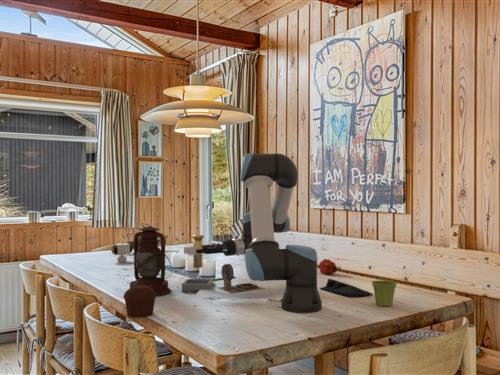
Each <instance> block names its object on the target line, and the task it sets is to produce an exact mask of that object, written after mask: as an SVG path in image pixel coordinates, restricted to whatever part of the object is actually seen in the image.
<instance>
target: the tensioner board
mask: <svg viewBox="0 0 500 375" xmlns="http://www.w3.org/2000/svg"><path fill="white" fill-rule="evenodd" d="M234 275H235V274H234V268H233V265H232V264H231V263H224V264H223V265H222V267H221V276H222V280H223V286H220V287H217V289H219V290H222V291H225V292H228V293H231V294H236V293H245V292H251V291H260V290H266V288H265V287H262V286H258V285H257V284H254V283H250V282H249V283H247V282H246V283H239V284H235V285H232V280H233V279H234Z"/></svg>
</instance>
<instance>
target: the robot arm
mask: <svg viewBox="0 0 500 375" xmlns="http://www.w3.org/2000/svg"><path fill="white" fill-rule="evenodd" d="M298 180H299V172H298V167H297V166H296V164H295V162H294V161H293V160H292V159H291V158H290V157H289V156H287V155H286V154H284V153H255V152H253V153H245V154H244V155H243V157H242V165H241V173H240V181H241V182H243V183H244V187H245V188H246V189H248V197H249V198H248V200H249V212H244V213H243V214H242V222H241V223H242V238H232V239H231V238H230V239H228V238H227V239H224V240H223V242H222V243H212V244H202V247H201V248H193V246H184V247H183V254H188V255H189V256H191V255H193V254H202V255H203V254H204V255H205V254H206V255H213V254H215V255H216V254H223V255H224V256H225V257H230V256H237V257H240V255H244V259H245V261H244V262H245V269H246V272H247V276H248V278H249V279H250V280H251V281H253V282H255V281H256V282H257V281H258V282H259V281H260V282H264V281H265V282H267V281H271V282H272V281H285V289H284V291H283V292H284V293H283V296H282V299H281V308H282V310H284V311H288V312H292V313H293V312H294V313H315V312H319V311H321V310H322V309H323V308H322V307H323V304H322V303H323V302H322V299H321V296H320V293H319V289H318V263H319V262H318V253H317V250H316V249H315V248H313V247H309V246H305V245H298V244H286V246H285V248H280V245H279V244H280V243H279V242H278V241H277V240H276V239H275V233H278V234H281V233H287V232H289V231H290V226H291V225H290V218H289V217H288V212H289V209H290V204H291V200H292V196H293V192H294V188H295V187H296V186H297V184H298ZM274 182H275V184H276V186H275V191H274V194H273V195H274V196H273V199H272V198H271V187H272V186H273V184H274ZM272 200H273V201H272Z"/></svg>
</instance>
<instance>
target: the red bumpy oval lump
mask: <svg viewBox="0 0 500 375" xmlns="http://www.w3.org/2000/svg"><path fill="white" fill-rule="evenodd" d="M318 263H319V264H318V266H317V270H319V271H320V273H321V274H324V275H327V276H332V274H336V272H337V271H338V266H337V265H336V263H335V262H334V261H332V260H331V259H330V258H329V259H327V258H325V259H322V260H321V261H320V262H318Z"/></svg>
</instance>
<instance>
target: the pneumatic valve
mask: <svg viewBox="0 0 500 375" xmlns="http://www.w3.org/2000/svg"><path fill="white" fill-rule="evenodd" d="M123 243H124V244H123ZM110 249H111V253H112V254H113V255H114V256H118V257H117V258H116V260H117V262H118V263H126V262H127V261H128V258H127V256H126V255H131V253H132V252H133V251H134V249H133V248H132V245H130V244H129V243H125V242H123V241H121V242H120V243H114V244H113V246H111V248H110Z"/></svg>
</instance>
